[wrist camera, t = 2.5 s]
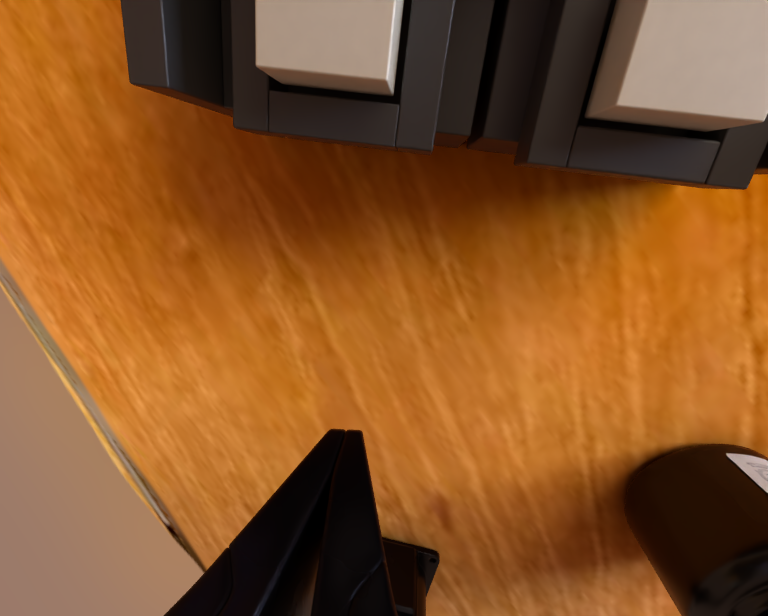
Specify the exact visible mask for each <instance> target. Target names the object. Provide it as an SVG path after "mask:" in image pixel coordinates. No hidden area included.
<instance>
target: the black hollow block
mask: <svg viewBox="0 0 768 616" xmlns="http://www.w3.org/2000/svg"><path fill="white" fill-rule="evenodd" d="M121 8H122V17H123V26H124V35H125V44H126V53H127V62H128V71H129V80H130V83H131V84H133V85H136V86H139V87H142V88H145V89H148V90H151V91H154V92H157V93H160V94H163V95H166V96H170V97H173V98H176V99H179V100H182V101H185V102H188V103H191V104H194V105H197V106H200V107H204V108H207V109H210V110H213V111H216V112H219V113H222V114H225V115H228V116H231V117H233V111H232V110H229V109H227V108H225V107H224V91H223V61H222V31H221V1H220V0H121ZM754 174H768V142H767V145H766V147H765V149H764V151H763V154H762V156H761V158H760V160H759V163H758V165H757V167H756V169H755V172H754Z"/></svg>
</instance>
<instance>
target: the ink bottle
mask: <svg viewBox="0 0 768 616" xmlns="http://www.w3.org/2000/svg"><path fill="white" fill-rule="evenodd" d="M625 515H626V519H627V522H628V524H629V527H630V529H631V531H632V532H633V534H634V536H635V538H636V539H637V541H638V543H639V544H640V546H641V548H642V549H643V551H644V553H645V554H646V556H647V558H648V560H649V561H650V563H651V565H652V566H653V568H654V570H655V571H656V573H657V575H658V577H659V578H660V580H661V582H662V583H663V585H664V587H665V588H666V590H667V592H668V593H669V595H670V597H671V599H672V600H673V602H674V604H675V605H676V607H677V609H678V610H679V612H680V614H681V616H768V458H767V457H765V456H764V455H762V454H760V453H758V452H756V451H754V450H751V449H749V448H745V447H742V446H737V445H730V444H708V445H700V446H695V447H690V448H686V449H682V450H679V451H676V452H673V453H671V454H668V455H666V456H664V457H662V458H660V459H658V460H656V461H654V462H653V463H651V464H650V465H648V466H647V467H645V468H644V469H643V470H642V471H641V472H640V473H639V474H638V475H637V476H636V477H635V478H634V479H633V481H632V482H631V484H630V486H629V488H628V490H627V493H626V497H625Z"/></svg>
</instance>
